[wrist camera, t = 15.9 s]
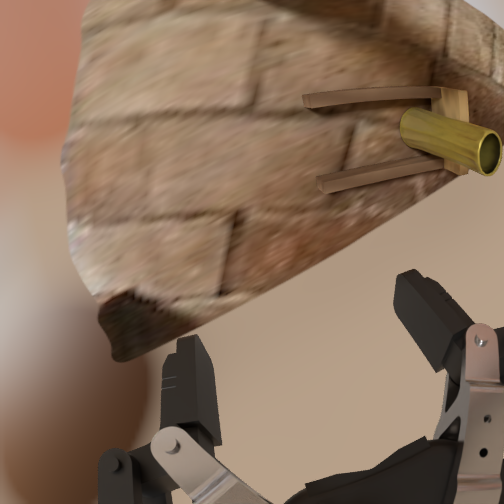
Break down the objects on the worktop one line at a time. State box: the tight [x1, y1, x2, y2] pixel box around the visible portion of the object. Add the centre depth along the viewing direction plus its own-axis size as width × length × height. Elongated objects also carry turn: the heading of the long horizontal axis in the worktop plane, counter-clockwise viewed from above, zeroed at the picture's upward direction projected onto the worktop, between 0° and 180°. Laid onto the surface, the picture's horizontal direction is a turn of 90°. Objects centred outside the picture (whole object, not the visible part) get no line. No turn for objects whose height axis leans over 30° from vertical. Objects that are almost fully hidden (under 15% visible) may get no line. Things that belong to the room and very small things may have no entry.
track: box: [302, 86, 469, 194], centre depth 31 cm, size 12×22×6 cm, turn 103°
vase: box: [400, 107, 502, 176], centre depth 27 cm, size 6×6×14 cm
